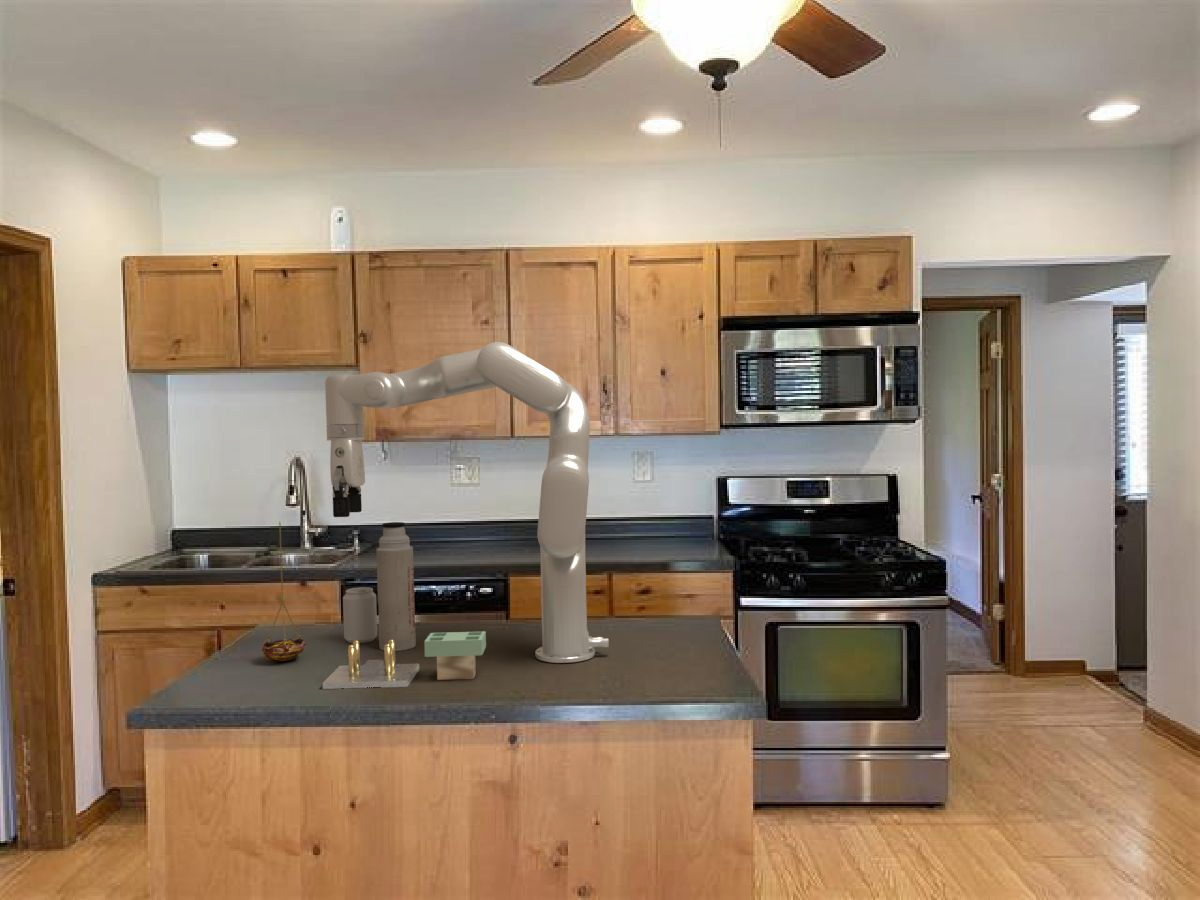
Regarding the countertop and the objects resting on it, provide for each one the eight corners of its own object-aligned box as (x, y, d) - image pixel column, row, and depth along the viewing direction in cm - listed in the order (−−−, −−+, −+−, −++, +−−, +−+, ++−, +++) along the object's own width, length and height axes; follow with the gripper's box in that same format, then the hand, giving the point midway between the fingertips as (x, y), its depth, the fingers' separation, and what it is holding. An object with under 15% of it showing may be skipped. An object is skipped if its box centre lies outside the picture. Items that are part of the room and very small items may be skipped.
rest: (475, 673, 177) (475, 648, 177) (473, 678, 174) (472, 653, 174) (440, 674, 177) (439, 649, 177) (437, 679, 174) (436, 654, 173)
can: (384, 638, 209) (382, 587, 208) (359, 645, 202) (358, 593, 202) (361, 635, 213) (360, 585, 212) (337, 642, 206) (335, 590, 206)
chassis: (419, 669, 181) (418, 633, 181) (407, 686, 169) (406, 648, 169) (340, 671, 181) (339, 635, 181) (322, 689, 169) (321, 650, 169)
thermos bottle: (421, 642, 204) (417, 520, 203) (406, 651, 196) (403, 524, 195) (388, 641, 205) (385, 520, 205) (373, 650, 198) (369, 524, 197)
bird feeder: (313, 660, 191) (309, 520, 190) (274, 669, 184) (269, 524, 183) (293, 653, 197) (289, 517, 196) (254, 662, 190) (249, 521, 189)
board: (486, 646, 179) (485, 631, 179) (482, 655, 172) (481, 639, 172) (431, 647, 179) (430, 632, 179) (424, 656, 172) (424, 641, 172)
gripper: (352, 433, 179) (355, 518, 179) (373, 432, 196) (375, 510, 196) (314, 434, 178) (317, 519, 179) (338, 433, 196) (341, 510, 196)
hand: (347, 514), depth 188 cm, fingers open, 9 cm apart
